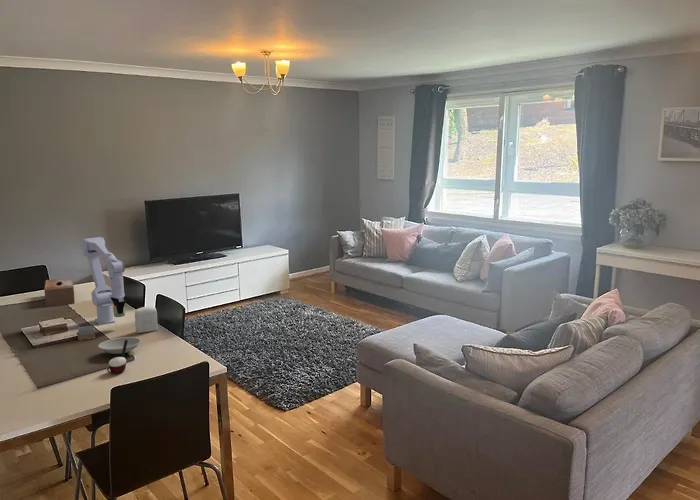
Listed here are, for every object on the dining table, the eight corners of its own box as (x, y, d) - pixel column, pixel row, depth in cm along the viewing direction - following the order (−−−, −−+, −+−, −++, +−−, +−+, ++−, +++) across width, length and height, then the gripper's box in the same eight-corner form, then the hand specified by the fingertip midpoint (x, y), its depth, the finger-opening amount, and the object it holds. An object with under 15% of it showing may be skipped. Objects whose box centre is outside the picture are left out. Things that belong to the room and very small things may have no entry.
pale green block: (113, 315, 266) (112, 306, 265) (123, 313, 268) (123, 304, 268) (115, 317, 262) (114, 308, 261) (125, 316, 264) (125, 307, 264)
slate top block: (78, 332, 255) (78, 327, 254) (92, 330, 258) (91, 325, 257) (79, 336, 250) (79, 331, 249) (93, 333, 253) (93, 328, 252)
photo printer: (156, 328, 268) (155, 304, 265) (158, 330, 264) (157, 306, 262) (134, 331, 262) (133, 307, 260) (136, 334, 258) (135, 309, 256)
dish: (99, 363, 224) (99, 351, 223) (97, 351, 236) (97, 340, 235) (144, 355, 232) (143, 344, 231) (140, 345, 244) (139, 334, 243)
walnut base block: (77, 337, 255) (76, 332, 254) (93, 334, 259) (92, 329, 258) (79, 341, 249) (78, 336, 249) (95, 338, 253) (95, 333, 253)
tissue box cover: (74, 304, 308) (73, 287, 306) (46, 307, 302) (44, 290, 300) (74, 293, 331) (72, 277, 329) (47, 296, 324) (45, 280, 322)
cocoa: (108, 378, 210) (105, 349, 207) (105, 372, 215) (101, 344, 212) (133, 371, 216) (130, 343, 213) (129, 365, 221) (126, 338, 218)
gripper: (105, 283, 266) (107, 309, 268) (111, 290, 254) (113, 317, 257) (120, 281, 270) (122, 307, 272) (127, 288, 258) (129, 315, 261)
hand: (119, 312), depth 265 cm, fingers closed on pale green block, 5 cm apart
